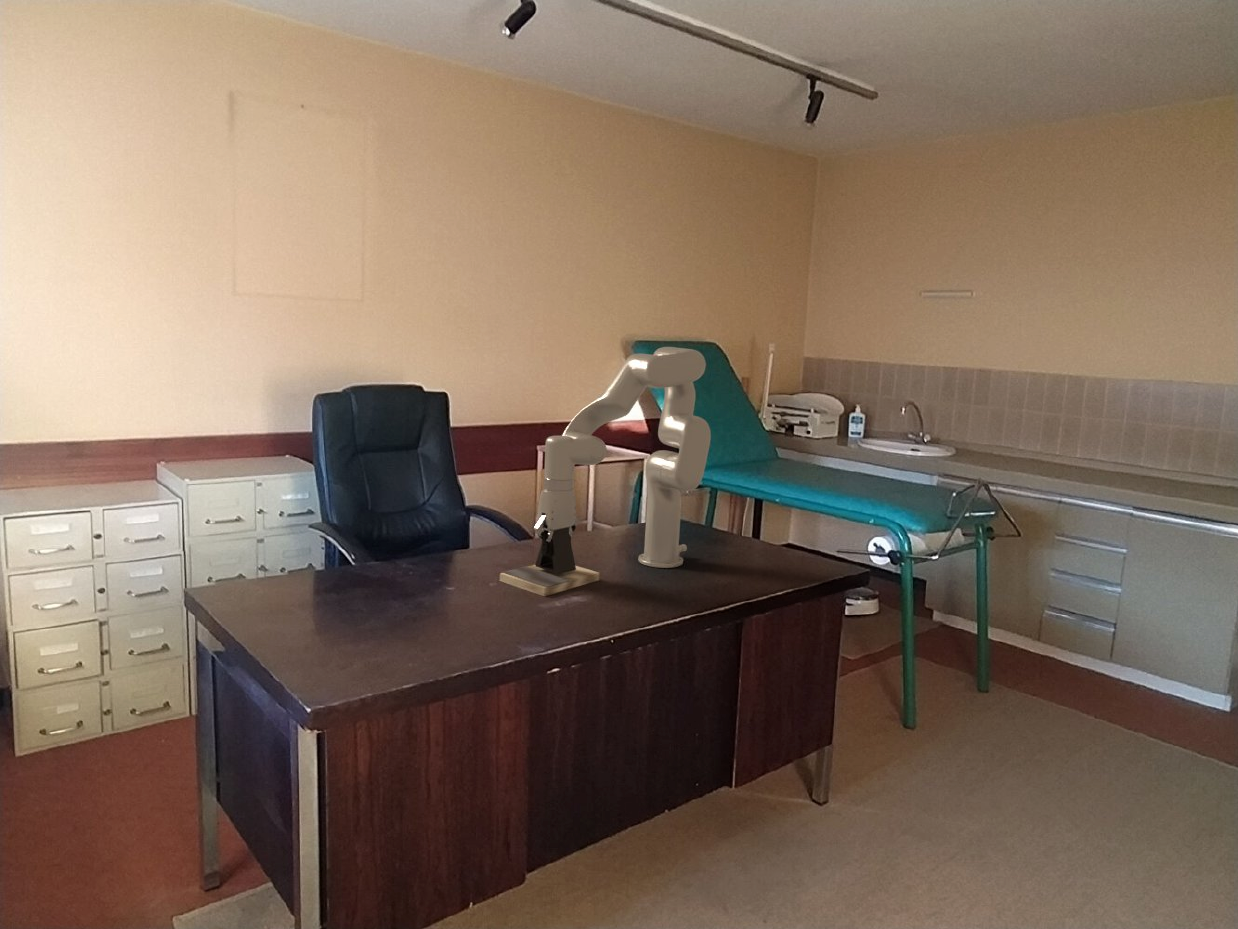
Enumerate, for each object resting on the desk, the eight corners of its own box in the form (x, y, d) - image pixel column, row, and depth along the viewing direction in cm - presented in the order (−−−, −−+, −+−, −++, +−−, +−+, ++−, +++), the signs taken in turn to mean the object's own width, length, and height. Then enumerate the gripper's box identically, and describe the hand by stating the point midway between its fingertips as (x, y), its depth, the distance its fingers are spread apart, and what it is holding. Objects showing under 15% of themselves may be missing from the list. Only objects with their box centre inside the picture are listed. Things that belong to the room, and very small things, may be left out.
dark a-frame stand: (575, 570, 230) (577, 524, 228) (558, 574, 225) (560, 528, 223) (552, 562, 236) (554, 517, 234) (535, 566, 231) (536, 521, 229)
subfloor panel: (555, 566, 242) (555, 558, 242) (599, 580, 232) (599, 572, 232) (499, 581, 227) (499, 572, 227) (544, 596, 217) (544, 587, 217)
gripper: (571, 478, 236) (568, 544, 239) (523, 486, 223) (521, 556, 226) (592, 483, 231) (589, 550, 234) (544, 491, 218) (542, 562, 221)
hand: (556, 552), depth 230 cm, fingers closed on dark a-frame stand, 6 cm apart
